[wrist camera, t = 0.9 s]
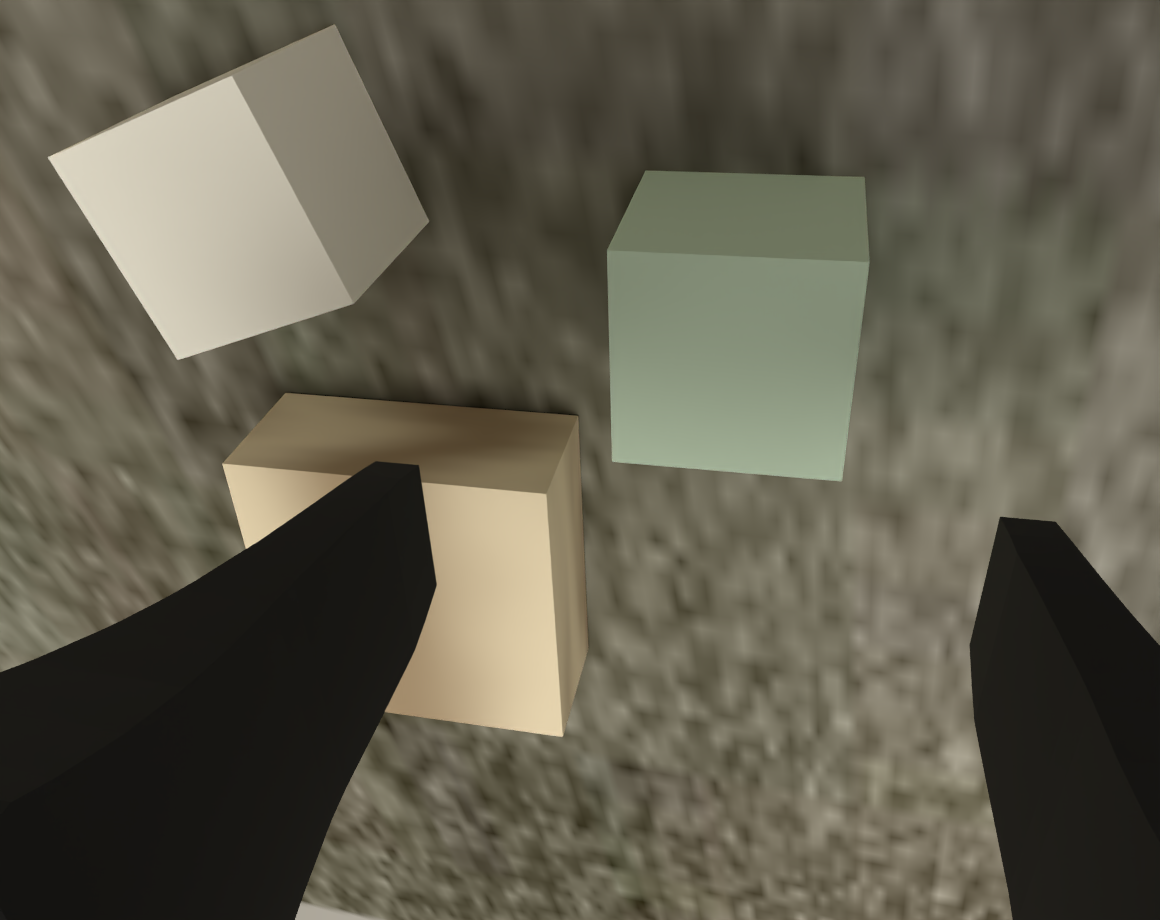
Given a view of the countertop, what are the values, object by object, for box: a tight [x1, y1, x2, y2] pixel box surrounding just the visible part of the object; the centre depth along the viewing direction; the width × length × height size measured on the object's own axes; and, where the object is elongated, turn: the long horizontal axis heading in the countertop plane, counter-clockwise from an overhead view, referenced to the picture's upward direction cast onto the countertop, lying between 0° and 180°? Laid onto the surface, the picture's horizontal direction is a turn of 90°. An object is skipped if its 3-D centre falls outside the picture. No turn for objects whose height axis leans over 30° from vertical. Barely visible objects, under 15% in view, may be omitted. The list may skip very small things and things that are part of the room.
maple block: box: [223, 393, 589, 737], centre depth 24 cm, size 7×7×3 cm
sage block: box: [607, 170, 870, 481], centre depth 18 cm, size 4×4×4 cm
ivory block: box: [48, 24, 429, 360], centre depth 19 cm, size 4×4×4 cm
